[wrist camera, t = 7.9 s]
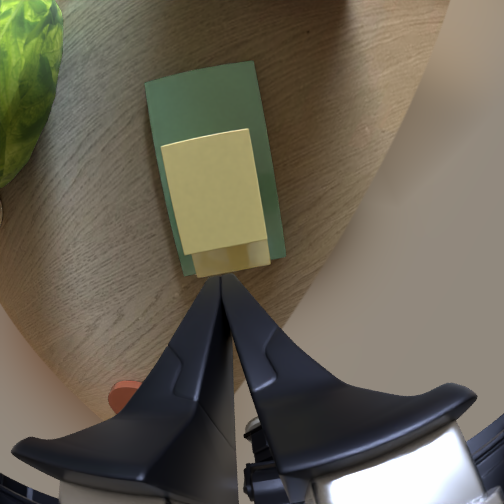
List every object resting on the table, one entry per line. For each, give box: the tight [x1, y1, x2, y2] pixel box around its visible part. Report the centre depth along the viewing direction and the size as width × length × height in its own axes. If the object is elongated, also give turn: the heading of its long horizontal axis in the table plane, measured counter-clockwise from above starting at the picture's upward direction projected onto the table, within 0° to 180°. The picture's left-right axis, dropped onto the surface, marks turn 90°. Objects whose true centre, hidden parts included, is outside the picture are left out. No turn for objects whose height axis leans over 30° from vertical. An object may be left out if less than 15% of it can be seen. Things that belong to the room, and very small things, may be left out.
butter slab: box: [161, 128, 267, 255], centre depth 16 cm, size 6×5×4 cm
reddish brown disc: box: [108, 381, 142, 414], centre depth 29 cm, size 8×8×1 cm
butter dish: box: [145, 61, 286, 278], centre depth 20 cm, size 17×9×4 cm, turn 10°
